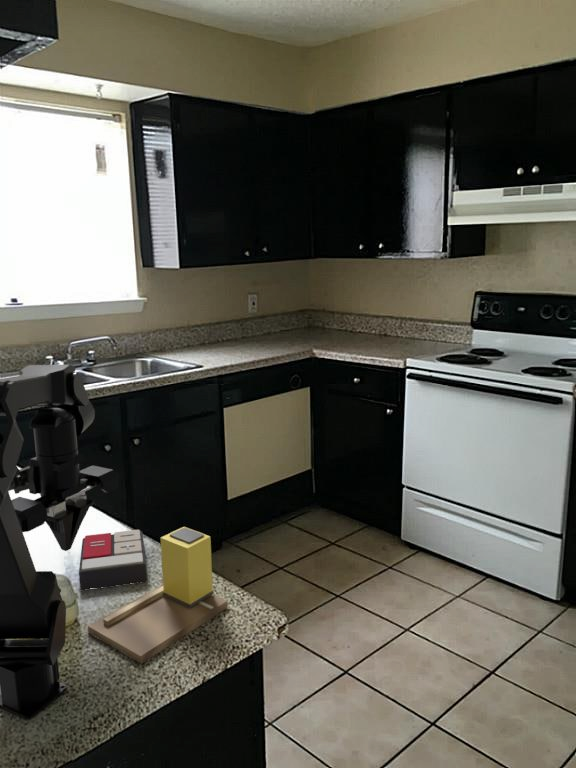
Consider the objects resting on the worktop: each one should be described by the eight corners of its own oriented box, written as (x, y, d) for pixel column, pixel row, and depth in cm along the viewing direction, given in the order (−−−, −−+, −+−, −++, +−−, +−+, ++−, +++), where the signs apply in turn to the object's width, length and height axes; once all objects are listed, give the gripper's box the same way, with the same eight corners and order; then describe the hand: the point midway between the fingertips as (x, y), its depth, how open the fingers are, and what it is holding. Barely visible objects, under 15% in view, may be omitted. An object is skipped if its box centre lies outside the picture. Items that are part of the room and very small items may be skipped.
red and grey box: (142, 526, 126) (145, 559, 112) (143, 548, 127) (147, 583, 113) (82, 533, 123) (78, 568, 109) (83, 555, 124) (80, 592, 110)
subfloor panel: (141, 663, 91) (140, 650, 91) (88, 632, 98) (87, 620, 98) (227, 607, 105) (227, 596, 104) (175, 584, 112) (174, 573, 111)
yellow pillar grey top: (190, 608, 102) (187, 547, 100) (162, 595, 106) (159, 535, 103) (213, 593, 106) (211, 534, 104) (186, 581, 110) (183, 524, 107)
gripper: (65, 426, 107) (73, 516, 110) (-38, 461, 91) (-25, 565, 94) (117, 435, 102) (124, 529, 105) (18, 474, 86) (30, 583, 89)
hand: (66, 549), depth 99 cm, fingers closed
